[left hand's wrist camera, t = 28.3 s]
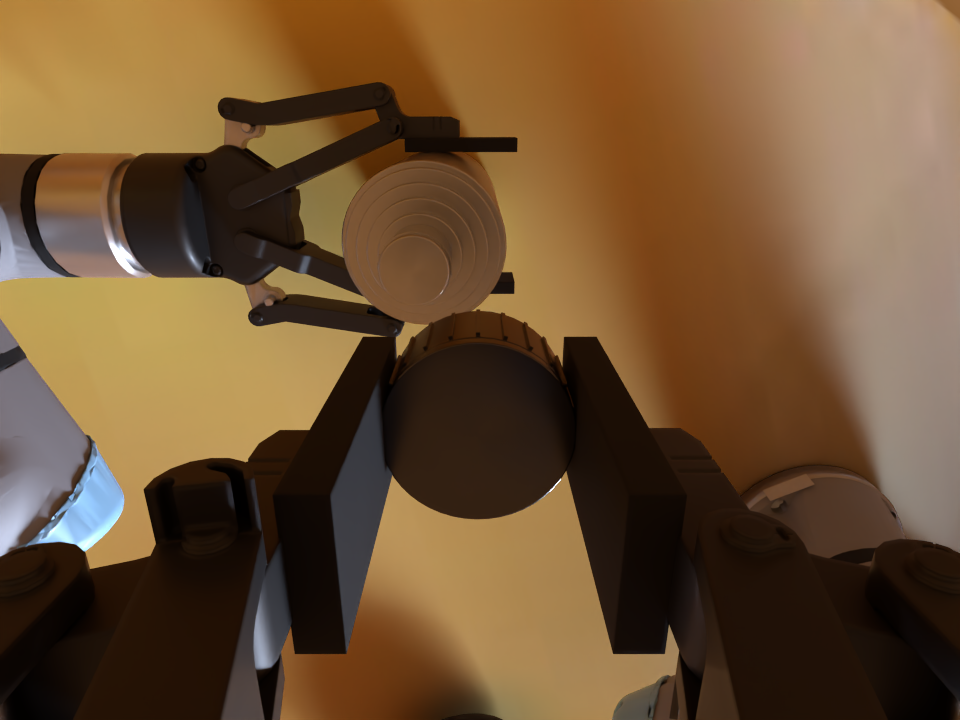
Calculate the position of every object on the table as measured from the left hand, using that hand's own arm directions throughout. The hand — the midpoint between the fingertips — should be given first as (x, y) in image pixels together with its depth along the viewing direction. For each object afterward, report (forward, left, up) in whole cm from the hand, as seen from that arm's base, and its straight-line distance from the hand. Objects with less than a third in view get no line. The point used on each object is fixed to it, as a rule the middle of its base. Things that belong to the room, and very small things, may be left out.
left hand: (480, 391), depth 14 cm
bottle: (+3, 0, -32) cm, 32 cm away
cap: (0, 0, +2) cm, 2 cm away
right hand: (-2, -1, -25) cm, 25 cm away
